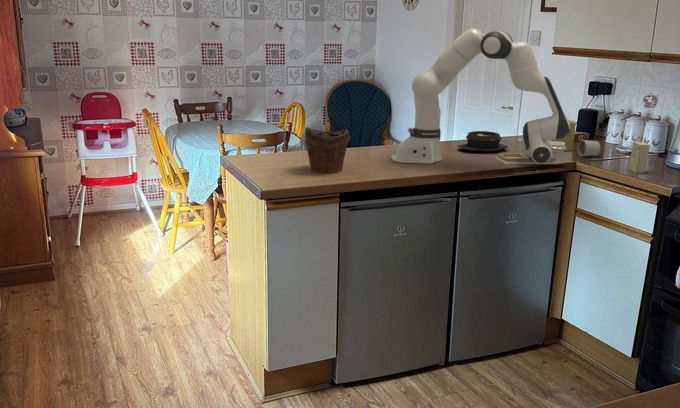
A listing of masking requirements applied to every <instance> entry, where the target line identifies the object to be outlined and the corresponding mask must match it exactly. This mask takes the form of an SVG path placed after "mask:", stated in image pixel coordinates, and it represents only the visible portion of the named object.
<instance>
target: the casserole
mask: <svg viewBox="0 0 680 408" xmlns="http://www.w3.org/2000/svg"><path fill="white" fill-rule="evenodd" d="M465 139H467V141H466V142H467V143H463V144H458V145H457V147H458V148H460V149H463V150H466V151H473V152H477V153H494V152H496V151H500V150H505V149H508V148H509V146H507V145H505V144H503V143H500V142H501V141H502V137H501V134H500V133H498V132H493V131H489V130H488V131H487V130H476V131H475V130H474V131H473V130H472V131H469V132H468V133H467V135H466V136H465Z"/></svg>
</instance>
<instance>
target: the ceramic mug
mask: <svg viewBox="0 0 680 408" xmlns="http://www.w3.org/2000/svg"><path fill="white" fill-rule="evenodd" d="M601 150H602V146H601V144H600V142H599V141H597V140H588V139H587V140H586V139H581V141H579V143H578V145H577V152H578V155H579V157H583V158H584V157H597V156H599V155H600V154H601Z"/></svg>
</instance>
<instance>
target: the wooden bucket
mask: <svg viewBox="0 0 680 408" xmlns="http://www.w3.org/2000/svg"><path fill="white" fill-rule="evenodd" d="M350 136H351V135H350V132H349V131H348V129H343V128H341V127H337V128H335V129H333V130H331V131H326V130H319V129H313V128H310V127H305V130H304V143H305V145H306V151H307V156H308V160H309V161H308V162H309V166H310V167H309V168H310V170H311V171H312V172H314V173H319V174H334V173H338V172H341V171H342V170H343V166H344V162H345V156H346V153H347V147H348V144H349V141H350V140H351V137H350Z"/></svg>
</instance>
